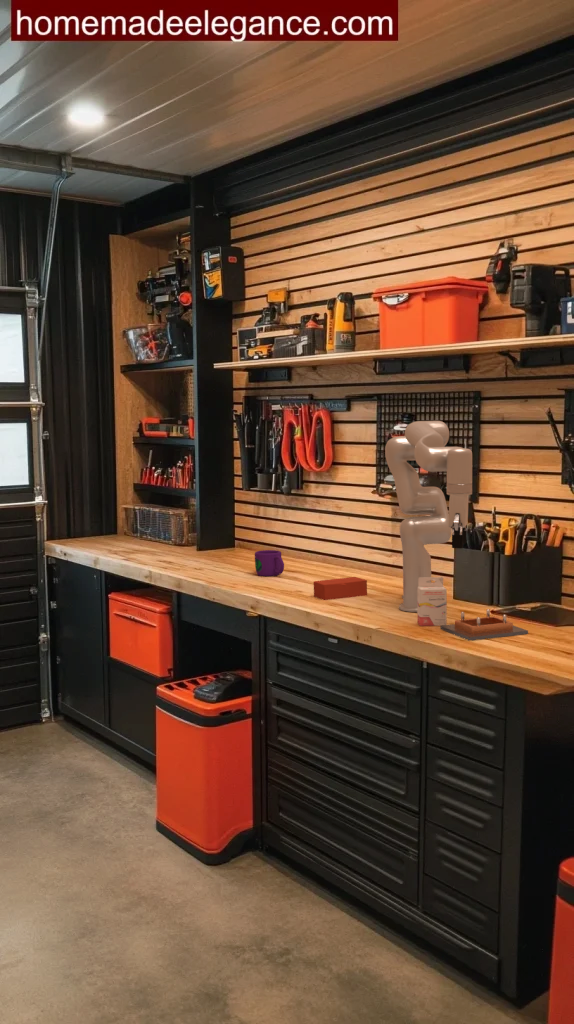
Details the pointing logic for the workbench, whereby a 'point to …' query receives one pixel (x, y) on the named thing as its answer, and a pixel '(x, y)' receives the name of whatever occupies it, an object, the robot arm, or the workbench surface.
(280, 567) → the mug
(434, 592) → the ink cartridge box
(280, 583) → the workbench surface
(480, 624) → the cartridge tray
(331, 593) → the brick
